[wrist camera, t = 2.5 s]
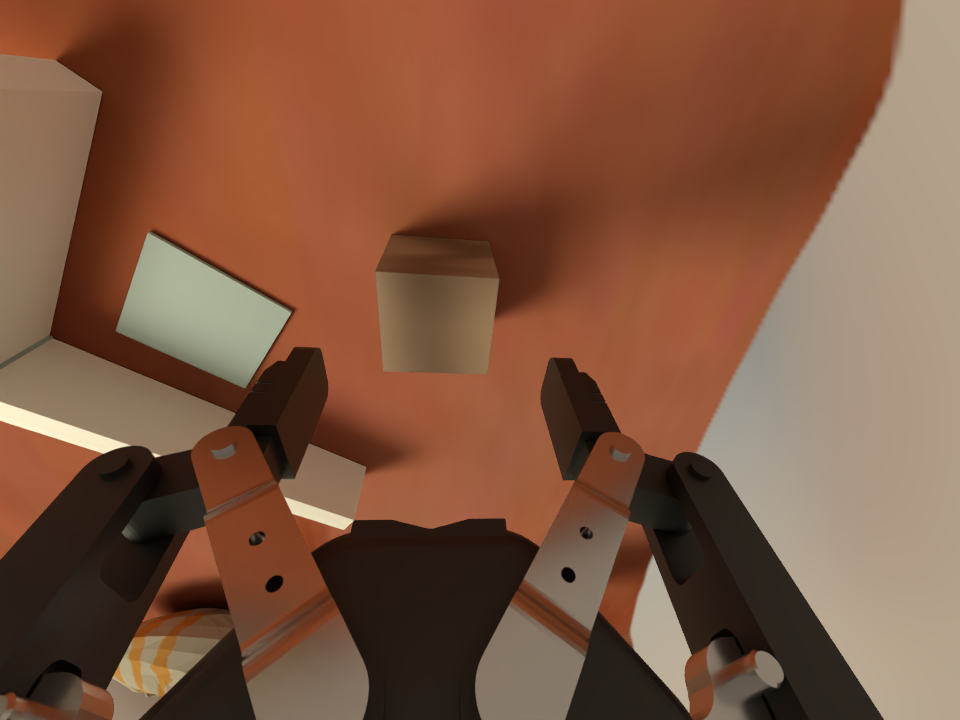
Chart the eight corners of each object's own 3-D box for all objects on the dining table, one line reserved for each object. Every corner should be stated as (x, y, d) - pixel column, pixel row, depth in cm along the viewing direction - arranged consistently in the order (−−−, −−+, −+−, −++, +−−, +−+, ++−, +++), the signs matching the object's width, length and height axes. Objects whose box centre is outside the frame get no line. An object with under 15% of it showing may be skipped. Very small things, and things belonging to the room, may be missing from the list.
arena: (484, 347, 23) (491, 403, 18) (356, 477, 29) (340, 540, 25) (49, 56, 13) (-132, 36, 9) (7, 341, 20) (-109, 404, 16)
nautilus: (334, 632, 50) (242, 644, 52) (221, 580, 36) (103, 599, 39) (316, 712, 44) (212, 721, 46) (172, 685, 30) (36, 700, 32)
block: (488, 240, 19) (499, 279, 15) (480, 323, 22) (487, 374, 18) (391, 233, 18) (375, 271, 14) (396, 319, 21) (383, 371, 17)
